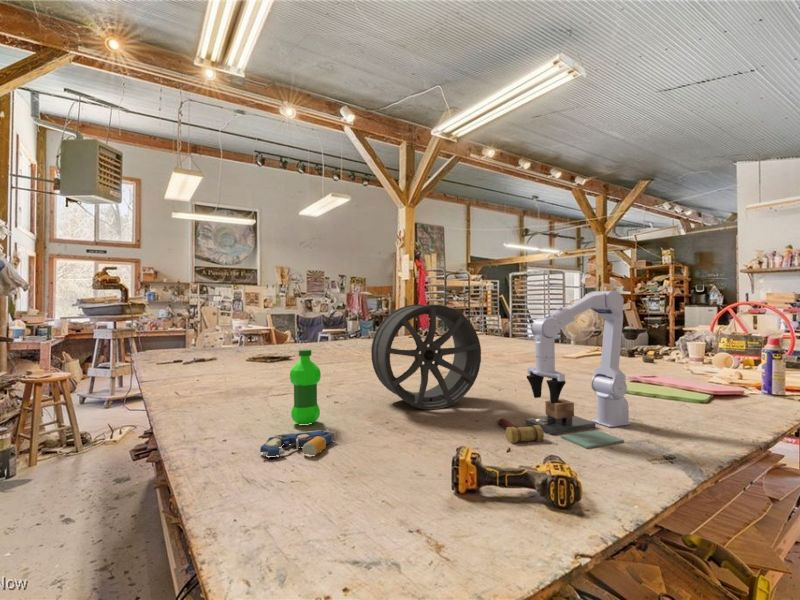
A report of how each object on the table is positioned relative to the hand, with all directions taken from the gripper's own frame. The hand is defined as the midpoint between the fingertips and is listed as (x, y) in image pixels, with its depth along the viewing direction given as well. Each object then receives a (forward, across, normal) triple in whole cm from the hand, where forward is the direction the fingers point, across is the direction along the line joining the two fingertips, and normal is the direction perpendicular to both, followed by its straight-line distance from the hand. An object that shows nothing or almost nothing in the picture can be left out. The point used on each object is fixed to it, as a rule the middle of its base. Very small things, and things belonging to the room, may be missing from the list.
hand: (545, 400), depth 127 cm
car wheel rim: (+10, -47, -20) cm, 52 cm away
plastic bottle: (+10, -38, -69) cm, 79 cm away
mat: (+10, +11, +7) cm, 16 cm away
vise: (+10, -3, +8) cm, 13 cm away
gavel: (+10, -4, -10) cm, 15 cm away
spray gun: (+10, -14, -74) cm, 76 cm away
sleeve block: (+6, -3, +8) cm, 11 cm away
